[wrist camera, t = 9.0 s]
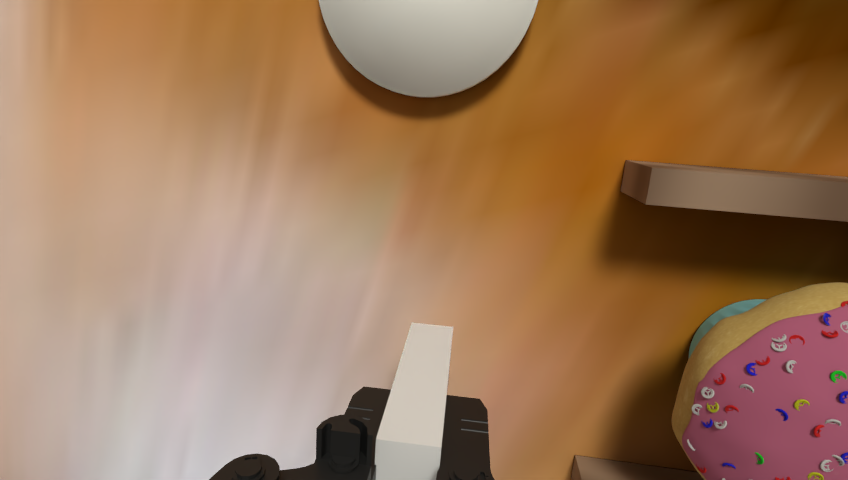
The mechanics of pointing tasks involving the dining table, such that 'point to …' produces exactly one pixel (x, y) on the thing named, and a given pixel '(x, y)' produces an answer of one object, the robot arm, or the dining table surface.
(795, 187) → the bay
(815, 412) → the cupcake
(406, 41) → the white round domed disc
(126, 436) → the dining table surface
